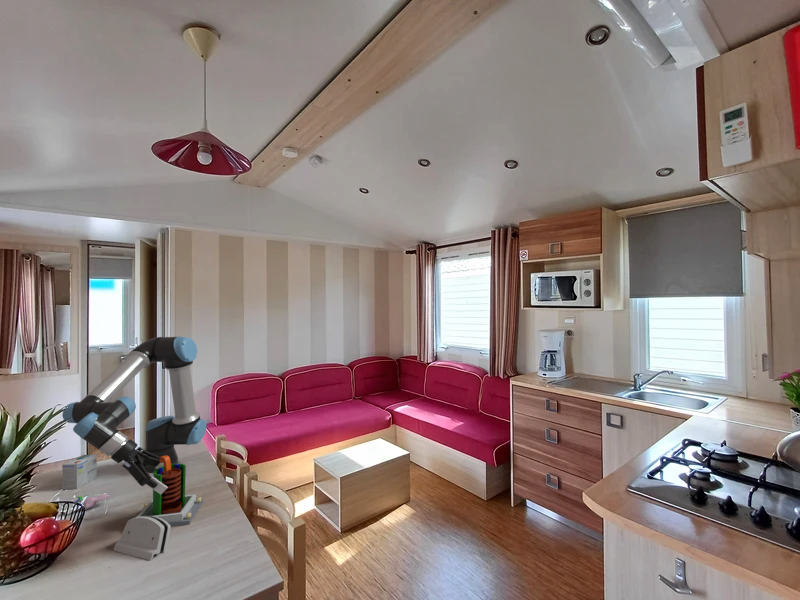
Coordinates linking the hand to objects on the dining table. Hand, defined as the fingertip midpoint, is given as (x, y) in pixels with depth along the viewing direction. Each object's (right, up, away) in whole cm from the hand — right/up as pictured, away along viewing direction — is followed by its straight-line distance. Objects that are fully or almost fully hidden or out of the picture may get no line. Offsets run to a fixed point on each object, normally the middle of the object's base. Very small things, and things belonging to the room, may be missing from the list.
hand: (168, 482), depth 132 cm
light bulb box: (-56, -14, +26) cm, 64 cm away
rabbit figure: (-35, -13, +5) cm, 38 cm away
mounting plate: (0, -12, -1) cm, 12 cm away
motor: (0, -11, 0) cm, 11 cm away
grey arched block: (+4, -12, -18) cm, 22 cm away
